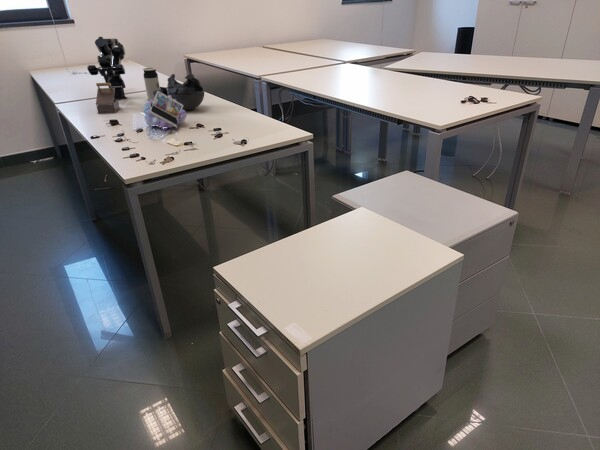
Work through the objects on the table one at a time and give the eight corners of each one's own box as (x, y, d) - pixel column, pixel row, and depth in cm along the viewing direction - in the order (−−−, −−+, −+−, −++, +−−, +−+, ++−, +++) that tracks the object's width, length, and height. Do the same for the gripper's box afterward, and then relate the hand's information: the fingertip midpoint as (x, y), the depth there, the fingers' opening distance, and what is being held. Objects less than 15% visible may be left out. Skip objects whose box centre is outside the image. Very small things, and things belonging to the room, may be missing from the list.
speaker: (167, 102, 246) (163, 85, 240) (171, 105, 242) (167, 87, 236) (155, 106, 243) (150, 88, 237) (159, 108, 239) (154, 90, 233)
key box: (103, 108, 237) (101, 99, 234) (119, 107, 238) (117, 99, 236) (98, 113, 227) (96, 105, 225) (115, 112, 228) (113, 104, 226)
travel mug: (145, 100, 253) (139, 69, 244) (153, 97, 259) (148, 67, 250) (155, 101, 250) (150, 70, 241) (164, 98, 256) (159, 67, 247)
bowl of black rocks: (213, 109, 235) (209, 74, 225) (183, 116, 222) (177, 80, 213) (192, 103, 246) (188, 70, 237) (162, 109, 234) (157, 74, 224)
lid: (98, 89, 230) (94, 81, 225) (114, 88, 232) (111, 80, 227) (96, 104, 225) (92, 96, 220) (113, 104, 226) (110, 96, 221)
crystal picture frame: (166, 107, 220) (147, 81, 205) (199, 110, 211) (182, 82, 197) (147, 136, 211) (126, 111, 196) (181, 140, 203) (162, 114, 188)
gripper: (83, 49, 227) (83, 74, 223) (119, 48, 230) (119, 73, 226) (91, 62, 238) (90, 86, 234) (125, 61, 240) (125, 85, 237)
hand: (106, 82), depth 232 cm, fingers closed
